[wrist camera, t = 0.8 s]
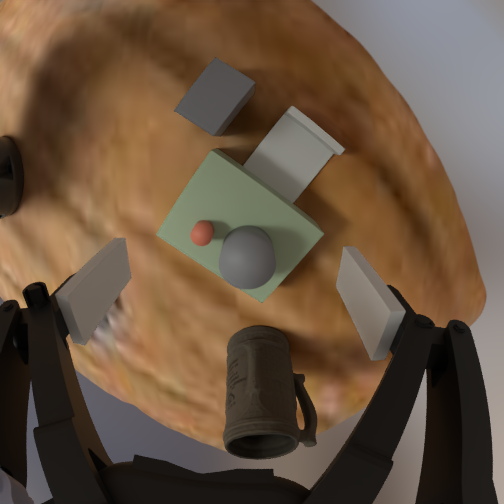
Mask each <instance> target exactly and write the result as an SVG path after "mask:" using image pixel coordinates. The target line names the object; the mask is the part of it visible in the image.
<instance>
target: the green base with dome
mask: <svg viewBox="0 0 504 504" xmlns="http://www.w3.org/2000/svg"><path fill="white" fill-rule="evenodd" d="M344 150H345V149H344V148H343V147H342V146H341V145H340V144H339V143H338V142H336V141H335V140H334V139H333V138H332V137H331V136H330V135H328V134H327V133H326V132H325V131H324V130H323V129H321V128H320V127H319V126H318V125H317V124H315V123H314V122H313V121H312V120H310V119H309V118H308V117H307V116H305V115H304V114H303V113H302V112H300V111H299V110H298V109H296V108H295V107H294V106H291V107H290V108H288V110H287V111H286V112H285V113H284V115H283V116H282V117H281V118H280V119H279V121H278V122H277V123H276V124H275V126H274V127H273V128H272V129H271V131H270V132H269V133H268V134H267V136H266V137H265V138H264V139H263V141H262V142H261V143H260V144H259V146H258V147H257V148H256V150H255V151H254V152H253V153H252V155H251V156H250V157H249V159H248V160H247V161H246V163H245V164H244V165H243V166H242V165H240V164H239V163H238V162H236V161H235V160H233V159H232V158H230V157H229V156H228V155H226V154H225V153H223V152H222V151H220V150H219V149H217V148H216V149H213V150H211V151H210V152H209V154H208V155H207V157H206V158H205V160H204V161H203V162H202V164H201V165H200V167H199V168H198V170H197V171H196V173H195V174H194V175H193V177H192V178H191V180H190V181H189V183H188V184H187V186H186V187H185V189H184V190H183V192H182V194H181V195H180V197H179V198H178V200H177V201H176V203H175V204H174V206H173V208H172V209H171V211H170V212H169V214H168V216H167V217H166V219H165V221H164V222H163V224H162V226H161V227H160V229H159V231H158V232H157V234H156V235H157V236H158V237H160V238H161V239H163V240H164V241H166V242H167V243H169V244H170V245H172V246H173V247H175V248H176V249H178V250H179V251H181V252H182V253H184V254H185V255H187V256H188V257H190V258H192V259H193V260H195V261H196V262H198V263H199V264H201V265H202V266H204V267H205V268H207V269H208V270H210V271H212V272H213V273H215V274H216V275H218V276H219V277H221V278H223V279H224V280H226V281H227V282H228V283H229V284H230V285H232V286H234V287H236V288H238V289H240V290H242V291H243V292H245V293H246V294H248V295H250V296H251V297H253V298H255V299H256V300H258V301H259V302H261V303H263V302H264V300H265V299H266V298H267V297H268V296H269V295H270V294H271V293H272V292H273V291H274V290H275V289H276V287H277V286H278V285H279V284H280V283H281V282H282V281H283V280H284V279H285V278H286V276H287V275H288V274H289V273H290V272H291V271H292V270H293V269H294V268H295V266H296V265H297V264H298V263H299V262H300V261H301V260H302V259H303V257H304V256H305V255H306V254H307V253H308V252H309V251H310V250H311V248H312V247H313V246H314V245H315V244H316V243H317V242H318V240H319V239H320V238H321V237H322V236H323V235H324V233H323V231H322V230H321V229H320V227H319V226H318V224H317V223H316V221H315V220H313V219H312V218H311V217H310V216H308V215H307V214H306V213H305V212H303V211H302V210H301V209H299V208H298V207H297V206H296V205H294V204H293V203H294V202H295V200H296V199H297V198H298V197H299V195H300V194H301V193H302V192H303V191H304V189H305V188H306V187H307V186H308V184H309V183H310V182H311V181H312V180H313V178H314V177H315V176H316V175H317V173H318V172H319V171H320V170H321V169H322V167H323V166H324V165H325V164H326V162H327V161H328V160H329V159H330V157H331V156H332V155H333V154H337V155H341V154H342V152H343V151H344Z"/></svg>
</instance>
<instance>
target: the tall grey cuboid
mask: <svg viewBox="0 0 504 504" xmlns="http://www.w3.org/2000/svg"><path fill="white" fill-rule="evenodd" d="M255 83H256V82H254V81H253V80H251V79H250V78H248V77H247V76H245V75H244V74H242V73H240V72H239V71H237V70H236V69H234V68H232V67H231V66H229V65H227V64H226V63H224V62H222V61H221V60H219V59H217V58H216V57H215V58H214V59H213V60H212V62H211V63H210V64H209V65H208V66H207V68H206V69H205V70H204V71H203V72H202V74H201V75H200V76H199V78H198V79H197V80H196V81H195V83H194V84H193V85H192V87H191V88H190V89H189V91H188V92H187V93H186V95H185V96H184V97H183V99H182V100H181V101H180V103H179V104H178V106H177V107H176V108H175V110H174V111H175V112H177V113H178V114H180V115H181V116H183V117H185V118H186V119H188V120H189V121H191V122H192V123H194V124H196V125H197V126H199V127H200V128H202V129H203V130H205V131H206V132H208V133H209V134H211V135H212V136H221V135H222V134H223V133H224V131H225V130H226V129H227V127H228V126H229V125H230V123H231V122H232V121H233V119H234V118H235V117H236V116H237V114H238V113H239V112H240V110H241V109H242V108H243V107H244V105H245V104H246V103H247V102H248V100H249V99H250V98H251V97H252V96H253V94H254V93H255Z"/></svg>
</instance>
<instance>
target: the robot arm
mask: <svg viewBox="0 0 504 504" xmlns="http://www.w3.org/2000/svg"><path fill="white" fill-rule="evenodd" d="M22 191H23V167H22V161H21V157H20V154H19V151H18V149H17V147H16V145H15V144H14V143H13V141H12V140H10V139H9V138H7V137H0V219H2V218H4V217H6V216H8V215H10V214H12V213H13V212H14V211H15V210H16V208H17V207H18V205H19V202H20V199H21V196H22ZM130 279H131V272H130V266H129V260H128V253H127V246H126V239H125V238H114V239H113V240H112V241H110V242H109V243H108V244H107V245H106V246H105V247H104V248H103V249H101V250H100V251H99V252H98V253H97V254H96V255H95V256H94V257H93V258H92V259H91V260H90V261H88V262H87V263H86V264H85V265H84V266H83V267H82V268H81V269H80V270H79V271H78V272H77V273H75V274H73V275H71V276H70V277H69V278H67V279H66V280H65V281H64V283H62V284H61V285H60V287H58V288H57V289H56V290H55V291H54V292H53V293H52V295H51V296H49V293H48V290H47V287H46V285H45V283H43V282H35V283H32V284H30V285H28V286H27V287H26V288H25V289H24V290H23V292H22V293H23V296H24V299H25V301H26V304H27V306H28V308H21V309H20V306H19V304H18V302H17V301H16V300H7V301H5V302H4V303H3V304H2V305H1V306H0V504H34V501H33V500H32V498H30V497H29V496H28V493H27V491H26V485H27V455H26V432H27V411H28V400H29V390H30V382H32V390H33V396H34V402H35V408H36V414H37V419H38V424H39V427H35V428H34V430H33V432H34V439H35V443H36V447H37V450H38V454H39V458H40V461H41V465H42V468H43V471H44V474H45V477H46V480H47V483H48V486H49V488H50V491H51V493H52V496H53V498H52V499H50V500H48V501H46V502H44V503H42V504H372V503H373V501H374V500H375V498H376V496H377V495H378V493H379V491H380V490H381V488H382V486H383V484H384V482H385V480H386V479H387V477H388V475H389V473H390V471H391V469H392V466H393V461H392V460H391V459H392V456H393V454H394V452H395V450H396V448H397V445H398V443H399V441H400V439H401V436H402V434H403V431H404V429H405V427H406V424H407V422H408V419H409V417H410V414H411V411H412V408H413V406H414V403H415V400H416V397H417V394H418V391H419V388H420V385H421V382H422V378H423V375H424V372H425V369H426V373H427V413H426V431H425V443H424V453H423V461H422V468H421V475H420V482H419V486H418V492H417V497H416V503H415V504H498V500H497V496H496V491H495V487H494V483H493V480H492V477H493V474H492V473H493V455H492V437H491V426H490V416H489V409H488V402H487V396H486V390H485V385H484V380H483V375H482V371H481V367H480V362H479V358H478V355H477V351H476V347H475V344H474V340H473V337H472V333H471V330H470V328H469V327H468V326H467V325H466V324H465V323H463V322H462V321H459V320H450V321H449V323H448V325H447V327H446V328H441V327H435V324H434V323H433V321H432V320H431V319H430V318H428V317H426V316H424V315H420V314H416V313H415V312H414V310H413V309H412V308H411V307H410V305H409V304H408V303H407V301H406V300H405V299H404V297H402V295H401V294H400V292H399V291H398V290H397V289H395V288H394V287H392V286H391V285H386V284H385V283H384V281H383V280H382V279H381V278H380V276H379V275H378V274H377V273H376V271H375V270H374V269H373V268H372V266H371V265H370V264H369V263H368V261H367V260H366V259H365V258H364V257H363V255H362V254H361V253H360V252H359V251H358V249H357V248H356V247H352V246H344V247H343V253H342V258H341V263H340V268H339V273H338V278H337V283H336V288H337V290H338V292H339V294H340V296H341V298H342V300H343V302H344V304H345V306H346V308H347V310H348V312H349V314H350V316H351V318H352V320H353V322H354V325H355V327H356V329H357V331H358V333H359V335H360V337H361V340H362V342H363V344H364V346H365V348H366V351H367V353H368V355H369V357H370V360H371V361H374V360H383V359H386V357H387V354H388V352H389V350H390V351H391V353H392V354H393V357H392V359H391V361H390V363H389V365H388V367H387V369H386V371H385V373H384V375H383V377H382V380H381V382H380V384H379V385H378V387H377V389H376V391H375V393H374V395H373V397H372V399H371V401H370V402H369V404H368V406H367V408H366V410H365V411H364V413H363V415H362V416H361V418H360V420H359V422H358V423H357V425H356V427H355V428H354V430H353V431H352V433H351V435H350V436H349V438H348V439H347V441H346V442H345V444H344V445H343V447H342V448H341V450H340V451H339V453H338V454H337V456H336V457H335V458H334V460H333V461H332V463H331V464H330V465H329V467H328V468H327V469H326V471H325V472H324V473H323V474H322V476H321V477H320V478H319V479H318V481H317V482H316V483H315V484H314V485H313V487H312V488H311V489H310V490H308V489H307V488H305V487H304V486H302V485H300V484H298V483H296V482H294V481H291V480H289V479H285V478H281V477H277V476H274V473H273V469H234V470H227V471H221V472H213V473H205V474H201V473H196V472H193V471H191V470H188V469H185V468H182V467H180V466H177V465H175V464H172V463H169V462H167V461H163V460H157V459H153V458H148V457H143V456H139V455H134V459H133V461H131V462H121V463H116V464H113V462H112V461H111V459H110V458H109V457H108V455H107V453H106V451H105V449H104V447H103V445H102V443H101V440H100V438H99V436H98V434H97V431H96V429H95V426H94V424H93V422H92V419H91V417H90V414H89V411H88V409H87V406H86V403H85V400H84V397H83V395H82V392H81V389H80V385H79V382H78V379H77V376H76V372H75V369H74V365H73V362H72V358H71V354H70V350H69V346H68V343H67V340H66V337H67V336H68V334H70V336H71V339H72V341H73V343H77V344H81V345H86V344H87V342H88V340H89V339H90V337H91V336H92V334H93V333H94V331H95V330H96V328H97V326H98V325H99V323H100V322H101V320H102V319H103V317H104V316H105V314H106V313H107V312H108V310H109V309H110V307H111V306H112V304H113V303H114V301H115V300H116V299H117V297H118V296H119V294H120V293H121V291H122V290H123V289H124V287H125V286H126V284H127V283H128V282H129V280H130Z"/></svg>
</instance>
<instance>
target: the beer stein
mask: <svg viewBox="0 0 504 504" xmlns="http://www.w3.org/2000/svg"><path fill="white" fill-rule="evenodd" d="M289 350H290V346H289V342H288V340H287V338H286V337H285V335H284V334H283V333H281V332H280V331H278V330H276V329H273V328H270V327H265V326H253V327H248V328H245V329H242V330H240V331H239V332H237V333H236V334H234V335H233V336H232V337H231V339H230V340H229V343H228V346H227V353H228V356H227V382H226V385H227V394H226V411H225V413H226V425H225V430H224V432H223V441H224V445H225V449H226V450H227V451H228V452H229V453H230V454H232V455H234V456H237V457H240V458H245V459H257V460H258V459H271V458H277V457H280V456H284V455H286V454H288V453H290V452H292V451H293V450H295V449H296V448H297V446H298V444H299V442H302V443H303V444H304V446H306V447H312V446H315V445H316V444H317V442H316V438H315V434H316V428H317V414H316V411H315V408H314V405H313V403H312V401H311V399H310V397H309V395H308V393H307V391H306V389H305V387H304V385H303V383H304V382H305V376H304V374H295V373H293V370H292V363H291V359H290V355H289ZM296 396H297V398H298V401H299V404H300V407H301V410H302V413H303V416H304V422H305V427H304V429H303V430H300V429H299V427H298V423H297V418H296V410H297V401H296Z"/></svg>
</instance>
